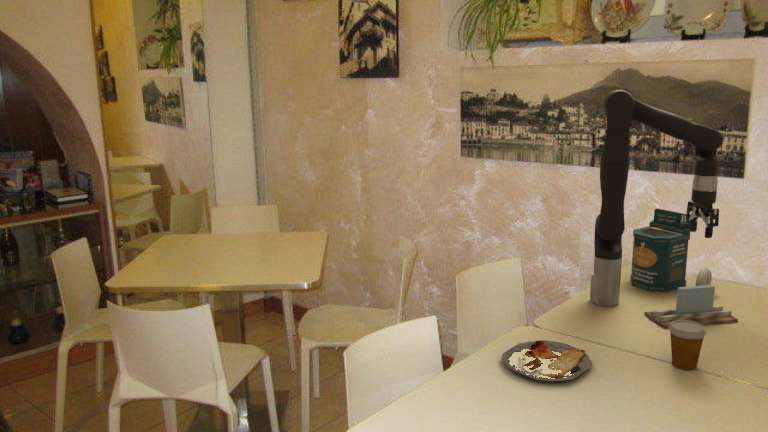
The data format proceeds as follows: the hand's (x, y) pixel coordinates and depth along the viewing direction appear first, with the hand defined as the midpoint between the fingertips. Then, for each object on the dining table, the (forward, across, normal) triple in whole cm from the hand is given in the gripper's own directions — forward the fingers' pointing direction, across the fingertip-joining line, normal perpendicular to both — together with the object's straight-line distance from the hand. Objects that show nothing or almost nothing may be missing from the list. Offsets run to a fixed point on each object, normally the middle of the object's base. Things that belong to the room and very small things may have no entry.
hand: (700, 234), depth 218 cm
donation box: (+26, -24, -1) cm, 36 cm away
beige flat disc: (+26, -10, +10) cm, 30 cm away
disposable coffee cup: (+26, +41, -30) cm, 57 cm away
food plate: (+26, +34, -67) cm, 80 cm away
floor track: (+26, +10, -8) cm, 29 cm away
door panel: (+25, +10, -7) cm, 28 cm away
